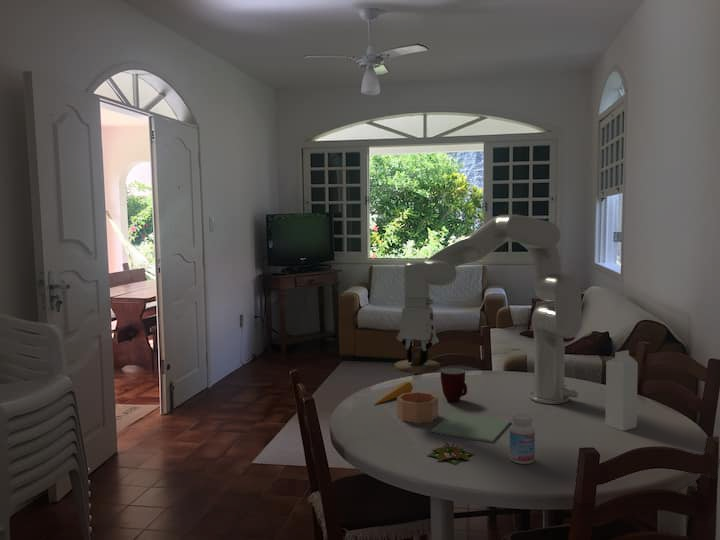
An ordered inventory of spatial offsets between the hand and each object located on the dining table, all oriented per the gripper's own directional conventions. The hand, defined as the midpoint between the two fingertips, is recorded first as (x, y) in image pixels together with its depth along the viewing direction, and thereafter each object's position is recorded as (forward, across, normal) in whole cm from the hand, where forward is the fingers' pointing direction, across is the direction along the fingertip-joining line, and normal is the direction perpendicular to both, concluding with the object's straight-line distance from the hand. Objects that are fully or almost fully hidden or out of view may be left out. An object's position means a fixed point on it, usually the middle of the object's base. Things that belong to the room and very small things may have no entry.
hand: (417, 361), depth 183 cm
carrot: (+18, +16, -14) cm, 27 cm away
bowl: (+17, 0, 0) cm, 17 cm away
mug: (+17, -5, -20) cm, 27 cm away
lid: (+2, 0, 0) cm, 2 cm away
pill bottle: (+18, -37, +19) cm, 45 cm away
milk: (+17, -56, -18) cm, 61 cm away
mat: (+17, -18, +2) cm, 25 cm away
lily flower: (+18, -20, +24) cm, 36 cm away
